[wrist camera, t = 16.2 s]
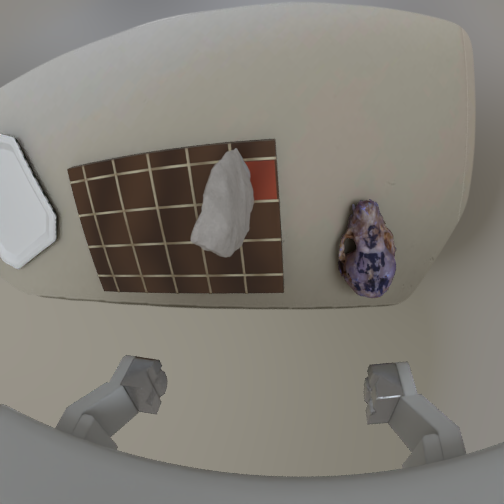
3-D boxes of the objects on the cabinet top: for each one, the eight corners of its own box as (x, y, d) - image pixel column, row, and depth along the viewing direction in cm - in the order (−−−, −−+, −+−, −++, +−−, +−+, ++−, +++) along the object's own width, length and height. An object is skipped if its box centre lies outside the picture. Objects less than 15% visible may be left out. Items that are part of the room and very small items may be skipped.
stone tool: (264, 216, 37) (249, 292, 24) (237, 221, 37) (209, 297, 24) (244, 140, 33) (214, 174, 20) (216, 146, 33) (169, 186, 20)
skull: (339, 194, 35) (356, 217, 30) (396, 193, 35) (420, 214, 30) (332, 278, 42) (344, 308, 36) (383, 273, 42) (400, 301, 36)
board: (275, 138, 34) (274, 140, 32) (283, 287, 43) (283, 293, 42) (72, 166, 37) (66, 169, 36) (107, 287, 47) (103, 292, 46)
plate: (-30, 183, 40) (-38, 188, 38) (15, 119, 34) (5, 122, 32) (18, 269, 48) (11, 275, 46) (73, 227, 42) (65, 233, 40)
